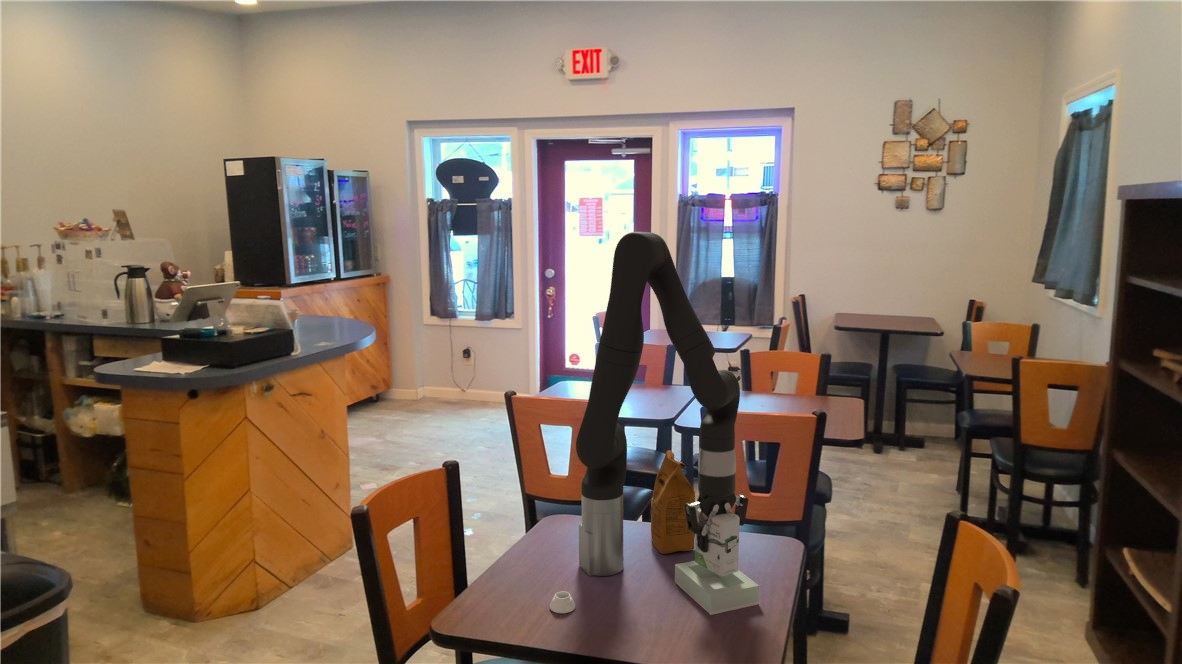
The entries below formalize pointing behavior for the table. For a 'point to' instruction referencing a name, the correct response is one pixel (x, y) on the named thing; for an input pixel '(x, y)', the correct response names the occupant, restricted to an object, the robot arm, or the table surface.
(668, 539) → the coffee package
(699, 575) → the pale green rectangular frame
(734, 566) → the ink box
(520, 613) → the table surface
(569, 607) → the lidless jar
